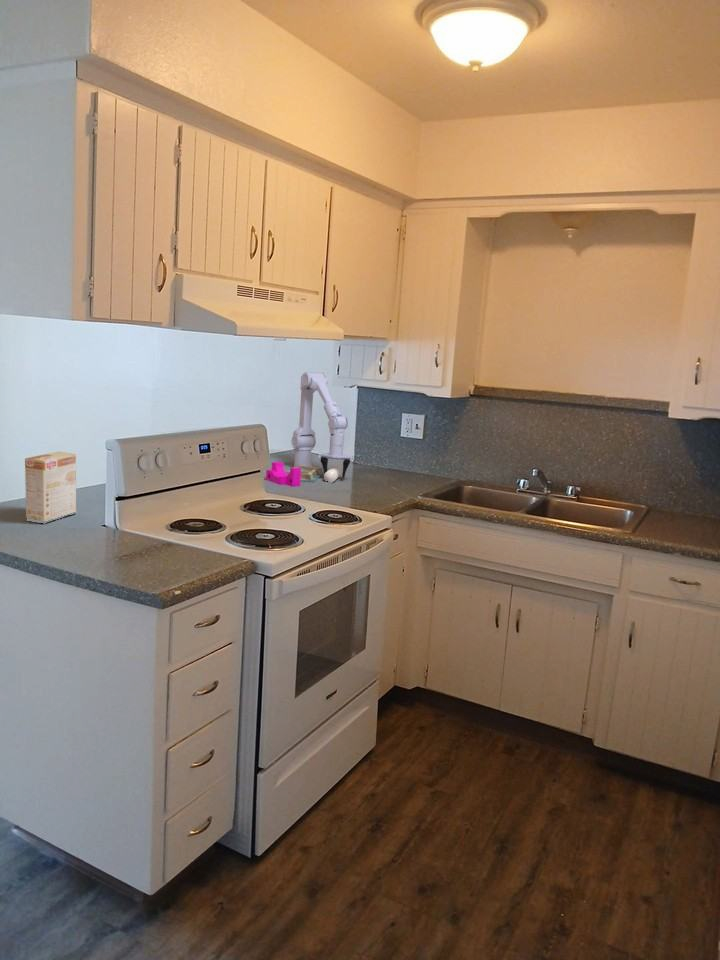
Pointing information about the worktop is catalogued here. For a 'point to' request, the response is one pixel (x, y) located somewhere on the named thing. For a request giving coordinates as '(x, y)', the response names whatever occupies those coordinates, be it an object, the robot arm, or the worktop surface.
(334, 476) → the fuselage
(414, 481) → the worktop surface
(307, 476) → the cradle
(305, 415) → the robot arm
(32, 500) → the coffeecake box
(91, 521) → the worktop surface
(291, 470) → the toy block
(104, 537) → the worktop surface
